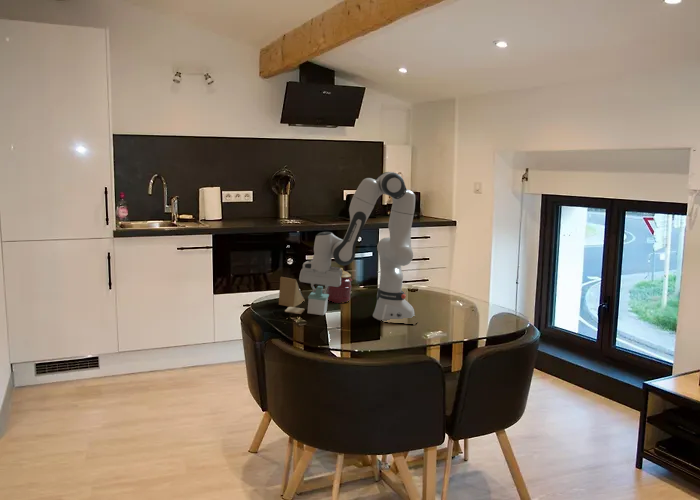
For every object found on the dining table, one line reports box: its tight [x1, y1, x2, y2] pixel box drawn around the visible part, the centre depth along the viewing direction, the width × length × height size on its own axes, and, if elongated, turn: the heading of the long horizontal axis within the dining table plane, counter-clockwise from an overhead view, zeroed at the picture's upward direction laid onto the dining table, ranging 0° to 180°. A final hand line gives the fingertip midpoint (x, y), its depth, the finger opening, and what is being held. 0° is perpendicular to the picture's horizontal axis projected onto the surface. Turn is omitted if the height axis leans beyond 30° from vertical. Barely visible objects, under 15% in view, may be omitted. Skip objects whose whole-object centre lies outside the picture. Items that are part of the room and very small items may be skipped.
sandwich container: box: [278, 276, 306, 307], centre depth 319 cm, size 9×15×15 cm, turn 161°
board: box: [284, 306, 305, 315], centre depth 307 cm, size 8×8×1 cm
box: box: [306, 298, 329, 316], centre depth 308 cm, size 8×8×8 cm
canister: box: [325, 267, 353, 304], centre depth 334 cm, size 13×13×18 cm
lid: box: [307, 285, 329, 301], centre depth 307 cm, size 9×9×5 cm
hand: (318, 293), depth 307 cm, fingers open, 3 cm apart
